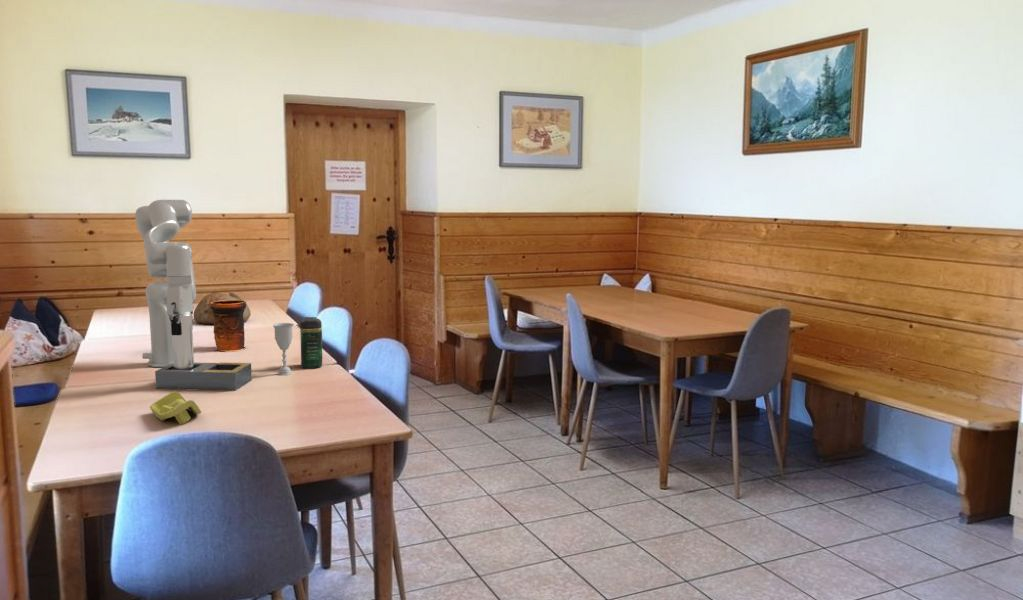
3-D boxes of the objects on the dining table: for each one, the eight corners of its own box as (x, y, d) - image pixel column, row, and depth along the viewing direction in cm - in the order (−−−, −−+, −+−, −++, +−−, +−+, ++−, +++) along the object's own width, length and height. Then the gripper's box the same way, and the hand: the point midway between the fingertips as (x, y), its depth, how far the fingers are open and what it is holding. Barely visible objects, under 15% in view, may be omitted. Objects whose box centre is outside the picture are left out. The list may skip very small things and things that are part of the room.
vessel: (203, 350, 324) (201, 302, 322) (227, 345, 337) (226, 298, 335) (230, 353, 319) (229, 304, 317) (254, 347, 332) (253, 300, 330)
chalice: (299, 372, 286) (297, 323, 284) (287, 376, 280) (286, 326, 277) (281, 370, 289) (280, 322, 286) (270, 374, 282) (268, 325, 280)
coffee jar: (323, 368, 293) (322, 319, 291) (301, 369, 291) (300, 320, 288) (322, 362, 302) (320, 315, 300) (300, 364, 300) (299, 316, 298)
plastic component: (148, 406, 232) (179, 387, 237) (161, 426, 234) (192, 407, 239) (162, 417, 216) (195, 396, 221) (176, 438, 218) (209, 418, 223)
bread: (185, 324, 386) (183, 294, 384) (211, 317, 409) (209, 289, 407) (234, 326, 382) (233, 296, 380) (258, 319, 404) (257, 290, 402)
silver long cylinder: (187, 387, 264) (184, 313, 261) (170, 385, 265) (166, 312, 262) (199, 382, 270) (195, 310, 267) (182, 381, 272) (178, 310, 268)
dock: (156, 388, 261) (155, 370, 260) (176, 379, 275) (175, 361, 274) (235, 390, 260) (234, 372, 259) (251, 380, 274) (251, 363, 273)
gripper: (180, 278, 272) (183, 328, 274) (155, 283, 255) (158, 337, 257) (202, 278, 271) (204, 328, 274) (178, 284, 254) (181, 337, 257)
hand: (182, 332), depth 265 cm, fingers open, 7 cm apart
